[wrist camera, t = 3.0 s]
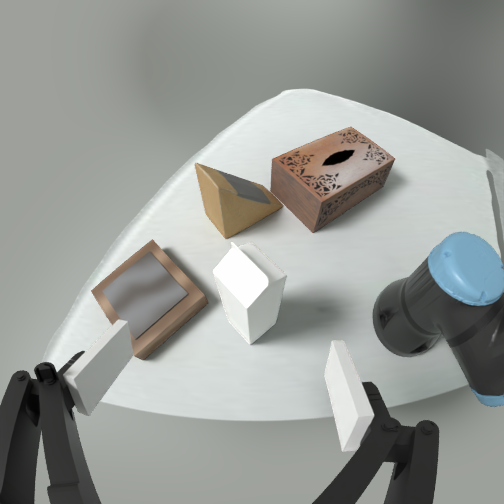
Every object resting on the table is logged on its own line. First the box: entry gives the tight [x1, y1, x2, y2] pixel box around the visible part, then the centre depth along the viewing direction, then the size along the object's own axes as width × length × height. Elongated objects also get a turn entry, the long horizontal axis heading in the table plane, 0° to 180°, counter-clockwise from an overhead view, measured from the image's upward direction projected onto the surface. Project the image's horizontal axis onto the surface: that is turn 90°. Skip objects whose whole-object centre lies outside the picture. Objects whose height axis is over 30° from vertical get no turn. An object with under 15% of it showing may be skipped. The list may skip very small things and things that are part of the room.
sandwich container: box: [195, 163, 283, 239], centre depth 54 cm, size 9×15×15 cm, turn 125°
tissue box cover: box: [270, 127, 395, 233], centre depth 59 cm, size 26×14×10 cm, turn 125°
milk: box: [213, 242, 287, 345], centre depth 38 cm, size 6×6×22 cm
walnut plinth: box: [91, 239, 208, 360], centre depth 47 cm, size 16×16×4 cm
